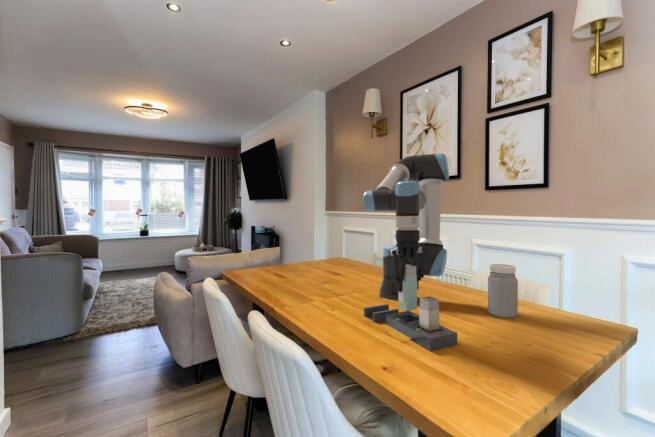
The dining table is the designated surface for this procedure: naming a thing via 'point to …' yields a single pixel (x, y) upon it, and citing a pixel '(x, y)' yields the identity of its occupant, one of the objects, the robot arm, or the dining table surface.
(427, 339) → the port block
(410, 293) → the plug
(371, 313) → the holster
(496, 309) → the jar
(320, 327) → the dining table surface
